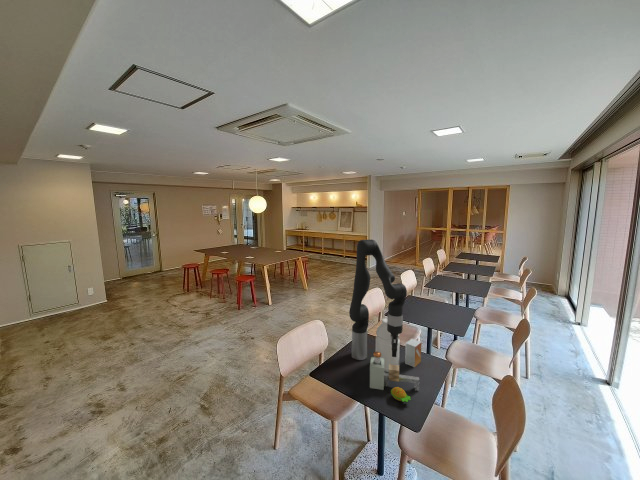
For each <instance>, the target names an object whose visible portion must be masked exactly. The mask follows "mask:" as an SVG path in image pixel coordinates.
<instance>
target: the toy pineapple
mask: <svg viewBox="0 0 640 480" xmlns="http://www.w3.org/2000/svg"><path fill="white" fill-rule="evenodd" d="M390 394H391V396H392V397H393V398H394V399H395V400H396V401H398V402H399V401H400V402H403V403H404V402H405V403H408V401H412V400H411V396H409V395H408V394H407V393H406V391H405V389H403V388H402V387H399V386H395V387H393V388H392V389H391V390H390Z"/></svg>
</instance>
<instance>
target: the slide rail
mask: <svg viewBox="0 0 640 480" xmlns="http://www.w3.org/2000/svg"><path fill="white" fill-rule="evenodd" d="M388 382H389V372H384V387H389V385H388V384H389V383H388ZM399 382H405V383H411V384H414V391H417V392H419V391H420V377H419V376H412V375H404V374H399Z"/></svg>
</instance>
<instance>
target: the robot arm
mask: <svg viewBox="0 0 640 480" xmlns="http://www.w3.org/2000/svg"><path fill="white" fill-rule="evenodd" d="M367 256H372V257H373V258H374V259H375V271H376V275H377V276H378V278H379V279H380V281H381V283H382V286H383V290H384V294H385V296H386V297H387V298H388V299H390V300H392V301H390V302H389V303H388V308H387V312H388V313H387V317H386V318H387V331H388V332H389V333H391V345H392V357H396V354H397V346H398V339H400V338H399V337H400V335H401V334H402V333H403V325H404V324H403V323H404V318H403V317H404V316H403V314H404V313H403V311H404V310H403V309H404V306H405V302H406V298H407V296H408V295H407V294H408V289H407V287H406V285H405V284H403V283H400V282H399V283H395V284H394V283H393V282H394V281H395V280H396V277H395V275H394V274H393V271H391V269H390V267H389V265H388V263H387V262H386V261H385V257H384V255H383V253H382V251H381V249H380V246H379V245H378V242H377V241H376V240H374V239H360V240H358V242H357V244H356V260H355V261H356V263H355V265H356V266H355V273H354V281H353V290H352V291H353V292H352V296H351V297H352V298H351V302H350V306H349V311H348V313H349V314H348V315H349V319H350V320H351V321H352V322H354V323H353V324H352V325H351V358H352V359H355V360H357V361H364V360H365V359H367V358H368V327H369V318H370V313H369V312H370V311H369V308H368V306H367V305H366V304H364V303H362V302H363V300H364V298H365V296H366V295H367V293H368V291H369V289H370V283H371V274H370V273H369V272H370V271H369V270H368V268H367V266H366V257H367ZM398 334H399V336H398Z"/></svg>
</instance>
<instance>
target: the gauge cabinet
mask: <svg viewBox="0 0 640 480" xmlns="http://www.w3.org/2000/svg"><path fill="white" fill-rule="evenodd" d="M369 363H370V364H369V389H376V390H381V391H385V390H384V388H385V386H384V373H385V371H384V358H380V365H377V364H374V356H371V357H370V362H369Z"/></svg>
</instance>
